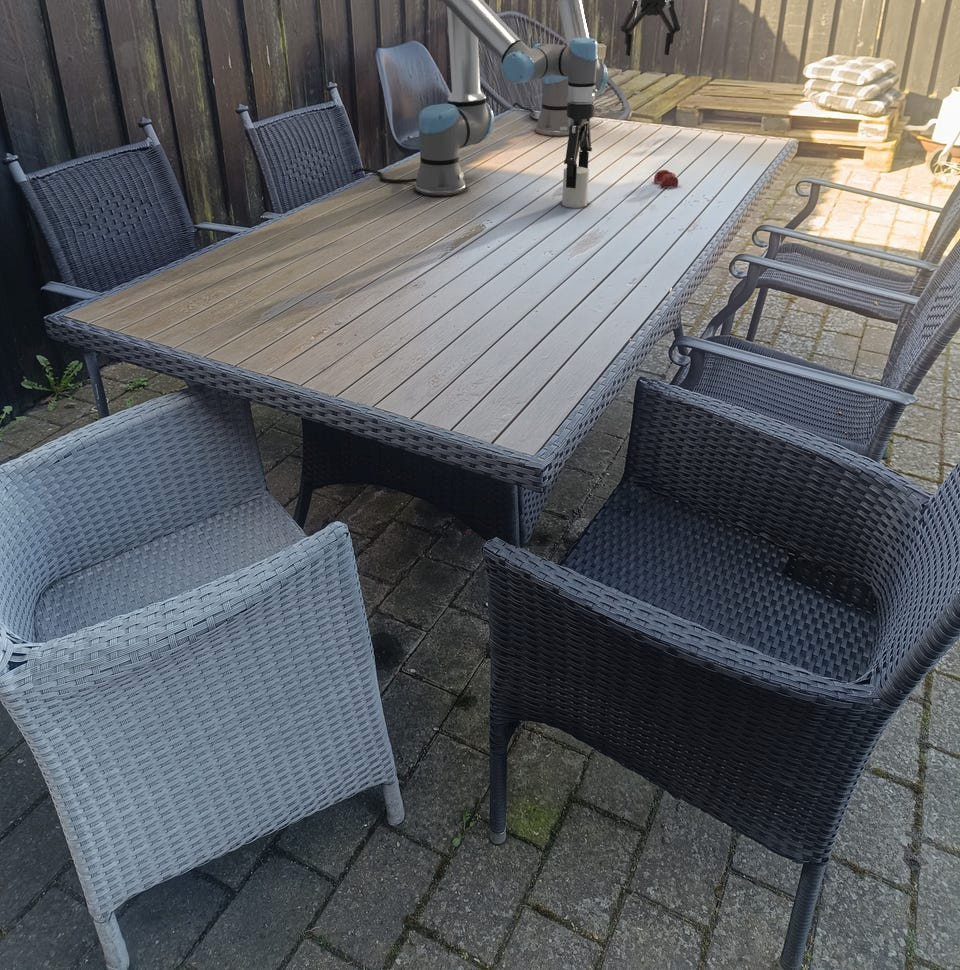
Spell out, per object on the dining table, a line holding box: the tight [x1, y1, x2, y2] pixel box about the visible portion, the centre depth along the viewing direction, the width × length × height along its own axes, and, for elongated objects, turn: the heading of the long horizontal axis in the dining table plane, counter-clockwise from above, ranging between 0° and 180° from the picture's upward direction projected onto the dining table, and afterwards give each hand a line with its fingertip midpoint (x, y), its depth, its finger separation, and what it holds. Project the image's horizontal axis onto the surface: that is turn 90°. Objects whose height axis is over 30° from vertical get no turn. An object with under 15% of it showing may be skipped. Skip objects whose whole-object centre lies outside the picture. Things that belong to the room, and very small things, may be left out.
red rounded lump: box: [653, 169, 679, 188], centre depth 261 cm, size 6×4×8 cm
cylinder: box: [561, 166, 590, 209], centre depth 244 cm, size 7×7×10 cm
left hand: (576, 181), depth 243 cm, fingers open, 13 cm apart
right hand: (647, 54), depth 289 cm, fingers open, 13 cm apart
